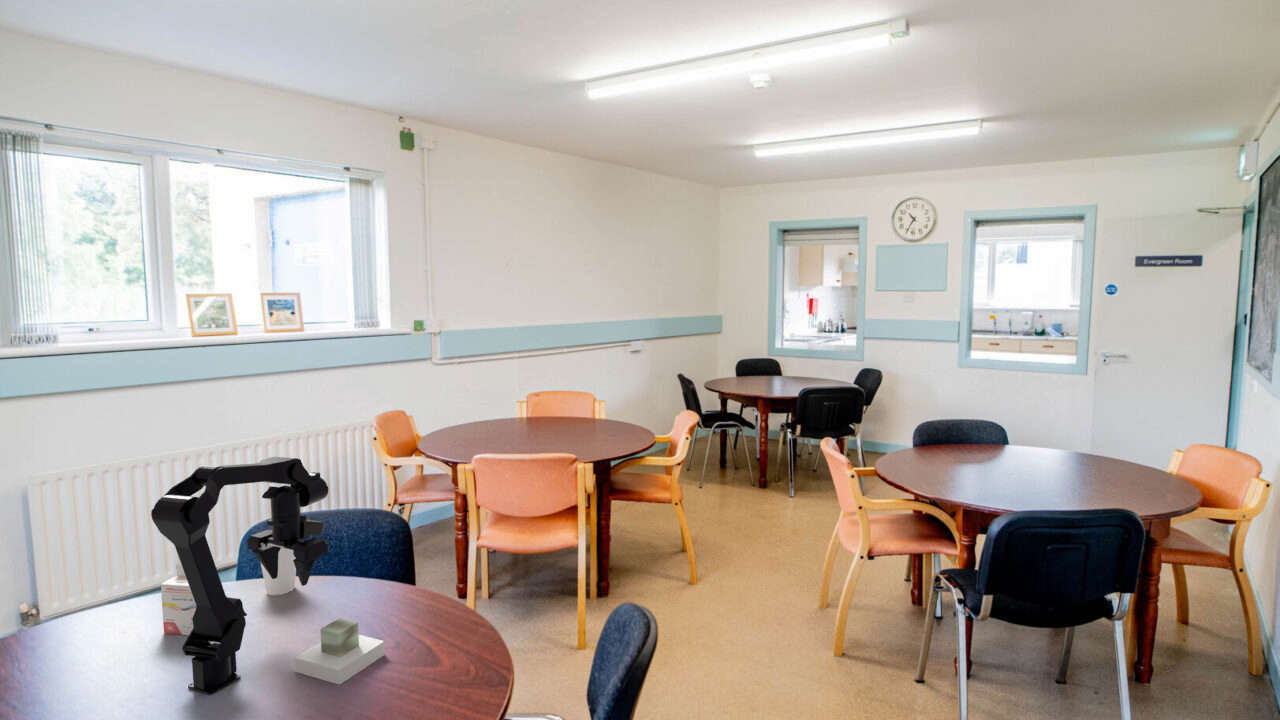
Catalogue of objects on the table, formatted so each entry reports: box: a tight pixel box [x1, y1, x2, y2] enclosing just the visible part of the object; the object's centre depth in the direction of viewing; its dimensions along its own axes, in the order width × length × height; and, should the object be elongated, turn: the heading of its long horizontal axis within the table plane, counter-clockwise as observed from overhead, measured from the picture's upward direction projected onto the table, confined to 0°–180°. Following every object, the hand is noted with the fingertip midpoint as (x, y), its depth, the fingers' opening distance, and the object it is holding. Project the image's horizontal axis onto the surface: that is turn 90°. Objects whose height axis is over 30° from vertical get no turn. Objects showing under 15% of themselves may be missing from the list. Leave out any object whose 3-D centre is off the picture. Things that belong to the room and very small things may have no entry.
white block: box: [293, 634, 386, 685], centre depth 138 cm, size 12×12×3 cm
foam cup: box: [259, 548, 297, 596], centre depth 172 cm, size 10×9×13 cm
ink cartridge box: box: [160, 562, 196, 636], centre depth 151 cm, size 9×5×15 cm, turn 84°
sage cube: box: [320, 617, 360, 657], centre depth 138 cm, size 5×5×5 cm
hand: (289, 581), depth 149 cm, fingers open, 9 cm apart
